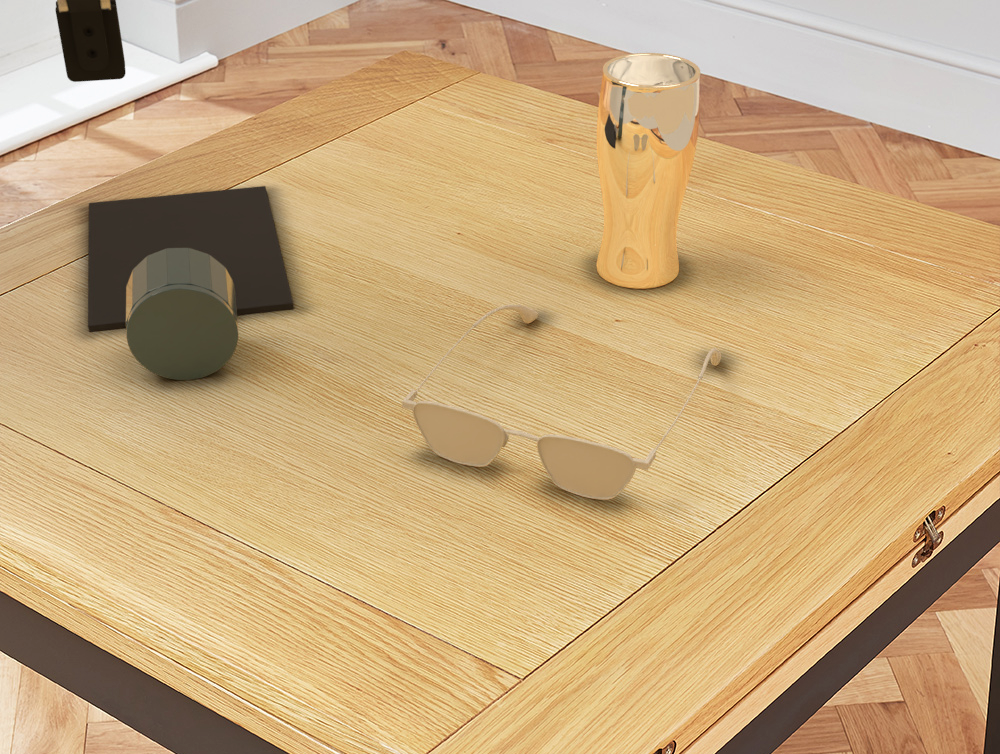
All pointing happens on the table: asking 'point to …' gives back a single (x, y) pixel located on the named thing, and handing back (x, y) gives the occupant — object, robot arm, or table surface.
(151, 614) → the table surface
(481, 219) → the table surface
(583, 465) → the eyeglasses
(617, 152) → the beer glass
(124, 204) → the mat
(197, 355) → the cup
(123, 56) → the robot arm
